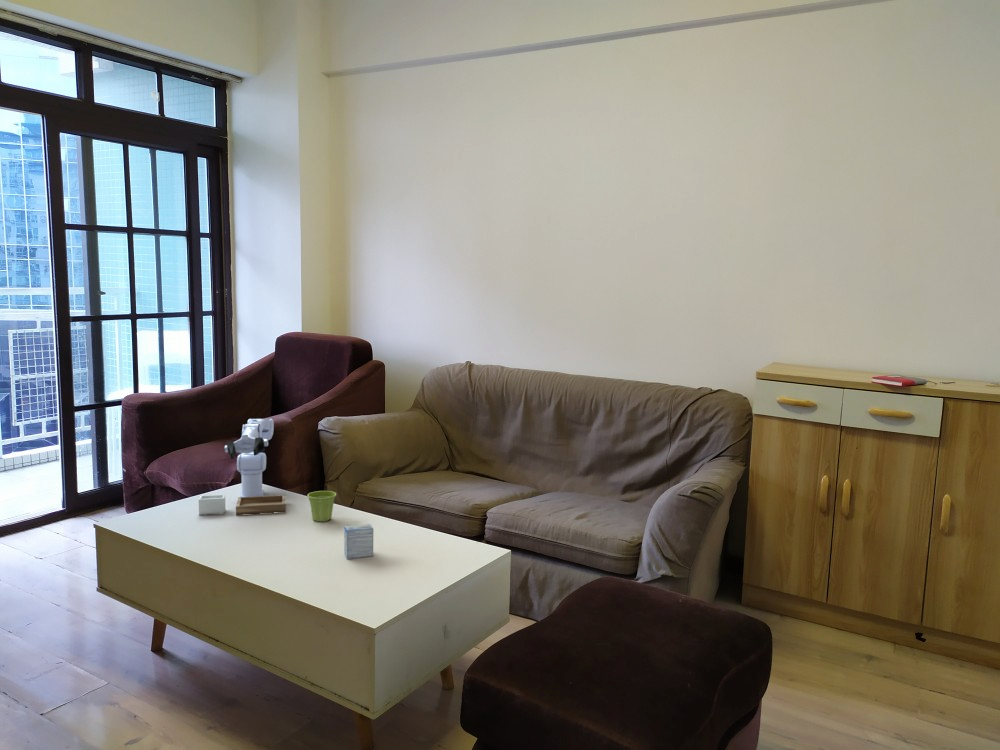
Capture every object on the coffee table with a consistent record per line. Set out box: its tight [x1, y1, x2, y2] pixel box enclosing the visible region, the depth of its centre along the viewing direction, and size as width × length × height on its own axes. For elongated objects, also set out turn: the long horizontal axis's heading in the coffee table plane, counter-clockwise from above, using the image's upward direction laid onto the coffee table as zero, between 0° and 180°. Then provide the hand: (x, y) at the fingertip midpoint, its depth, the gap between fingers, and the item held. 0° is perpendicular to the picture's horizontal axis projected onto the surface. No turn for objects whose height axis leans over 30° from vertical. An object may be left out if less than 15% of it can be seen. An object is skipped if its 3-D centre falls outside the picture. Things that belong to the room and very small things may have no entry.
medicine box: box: [343, 523, 374, 560], centre depth 215 cm, size 8×4×9 cm, turn 111°
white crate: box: [198, 493, 226, 516], centre depth 252 cm, size 5×8×6 cm, turn 106°
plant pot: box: [307, 490, 337, 522], centre depth 248 cm, size 9×9×9 cm
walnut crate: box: [235, 494, 286, 516], centre depth 258 cm, size 12×16×3 cm
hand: (243, 454), depth 252 cm, fingers open, 7 cm apart
